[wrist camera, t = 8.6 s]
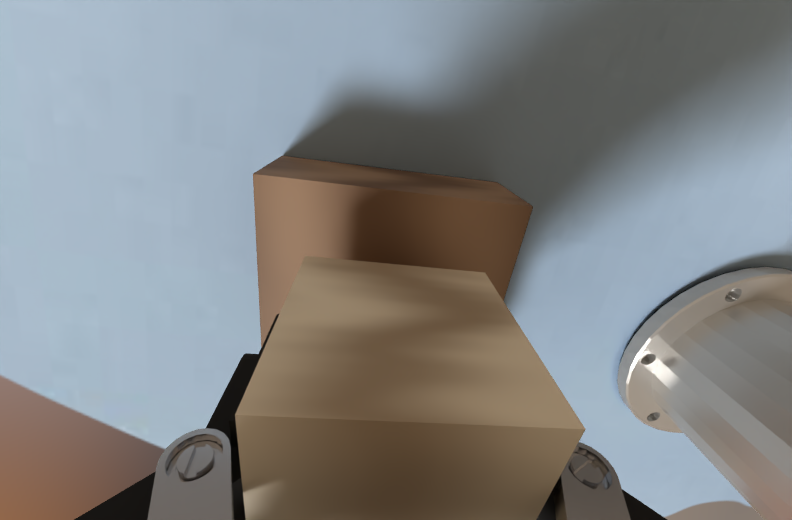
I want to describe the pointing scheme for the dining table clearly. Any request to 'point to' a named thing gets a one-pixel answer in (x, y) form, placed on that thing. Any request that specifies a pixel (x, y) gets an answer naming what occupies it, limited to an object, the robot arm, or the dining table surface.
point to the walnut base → (379, 223)
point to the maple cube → (399, 402)
